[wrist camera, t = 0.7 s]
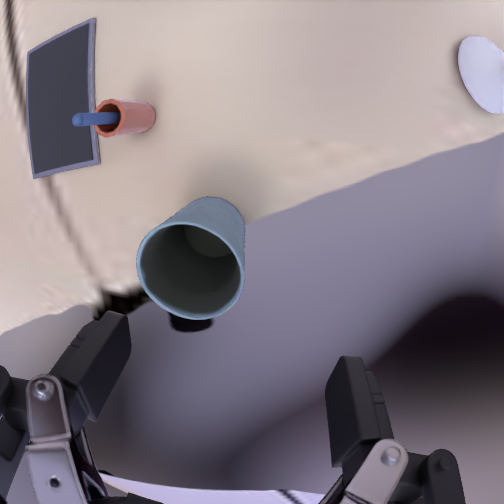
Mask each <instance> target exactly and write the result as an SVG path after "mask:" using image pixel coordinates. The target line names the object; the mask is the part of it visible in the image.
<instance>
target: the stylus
mask: <svg viewBox="0 0 504 504" xmlns="http://www.w3.org/2000/svg"><path fill="white" fill-rule="evenodd" d="M120 120H121V112H95V113H77V114H75V115H74V116H73V118H72V123H73V125H74V126H76V127H79V126H89V125H100V124H113V123H120Z"/></svg>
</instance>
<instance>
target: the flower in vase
mask: <svg viewBox="0 0 504 504" xmlns="http://www.w3.org/2000/svg"><path fill="white" fill-rule="evenodd" d="M458 64H459V70H460V74H461V77H462V80H463V82H464V84H465V86H466V88H467V90H468V92H469V93H470V95H471V96H472V97H473V99H474V100H475V101H476V102H477V103H478V104H479V105H480V106H481V107H482V108H483V109H485V110H486V111H488V112H491V113H495V114H500V113H503V112H504V53H503V52H502V51H501V50H500V49H499V48H498V47H497V46H496V45H495V44H494V43H493V42H491V41H490V40H488V39H486V38H483V37H480V36H469V37H467V38H465V39H464V40H463V41H462V43H461V45H460V48H459V53H458Z"/></svg>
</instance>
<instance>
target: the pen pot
mask: <svg viewBox="0 0 504 504" xmlns="http://www.w3.org/2000/svg"><path fill="white" fill-rule="evenodd" d="M95 112H121V120H120V123H113V124H100V125H93V126H94V128H95V130H96V131H97V133H98V134H99V135H101V136H103V137H112V136H120V135H127V134H135V133H142V132H146V131H148V130H149V129H150V128H151V127H152V126H153V124H154V122H155V119H156V113H155V110H154V108H153V107H152V106H151V105H150V104H148V103H145V102H140V101H131V100H120V99H109V100H105V101H103V102H102V103H101V104H100V105H99V106H98V107H97V108H96V110H95Z"/></svg>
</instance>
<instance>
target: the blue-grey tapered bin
mask: <svg viewBox="0 0 504 504" xmlns="http://www.w3.org/2000/svg"><path fill="white" fill-rule="evenodd" d="M244 243H245V225H244V221H243V218H242V216H241V214H240V213H239V211H238V210H237V209H236V208H235V207H234V206H233V205H232V204H231V203H229V202H227V201H225V200H223V199H221V198H216V197H208V196H207V197H203V198H199V199H197V200H195V201H193V202H191V203H190V204H188V205H187V206H186V207H184V208H183V209H181V210H180V211H179V212H177V213H176V214H175V215H174V216H172V217H170V218H169V219H167V220H166V221H165V222H163V223H162V224H160V225H159V226H157V227H156V228H154V229H153V230H151V231H150V232H149V233H148V234H147V235H146V236H145V237H144V239H143V240H142V242H141V244H140V246H139V249H138V252H137V258H136V267H137V273H138V277H139V279H140V282H141V284H142V286H143V288H144V290H145V291H146V293H147V294H148V295H149V296H150V298H151V299H152V300H153V301H154V302H155V303H157V304H158V305H159V306H160V307H162V308H163V309H165V310H167V311H169V312H171V313H173V314H175V315H178V316H180V317H183V318H188V319H196V320H197V319H209V318H213V317H216V316H219V315H221V314H223V313H224V312H226V311H227V310H228V309H230V308H231V307H232V306H233V305H234V304H235V303H236V301H237V300H238V298H239V297H240V295H241V293H242V290H243V287H244V281H245V273H244V271H245V270H244V263H245V262H244V261H245V258H244V257H245V253H244V247H245V246H244Z"/></svg>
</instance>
